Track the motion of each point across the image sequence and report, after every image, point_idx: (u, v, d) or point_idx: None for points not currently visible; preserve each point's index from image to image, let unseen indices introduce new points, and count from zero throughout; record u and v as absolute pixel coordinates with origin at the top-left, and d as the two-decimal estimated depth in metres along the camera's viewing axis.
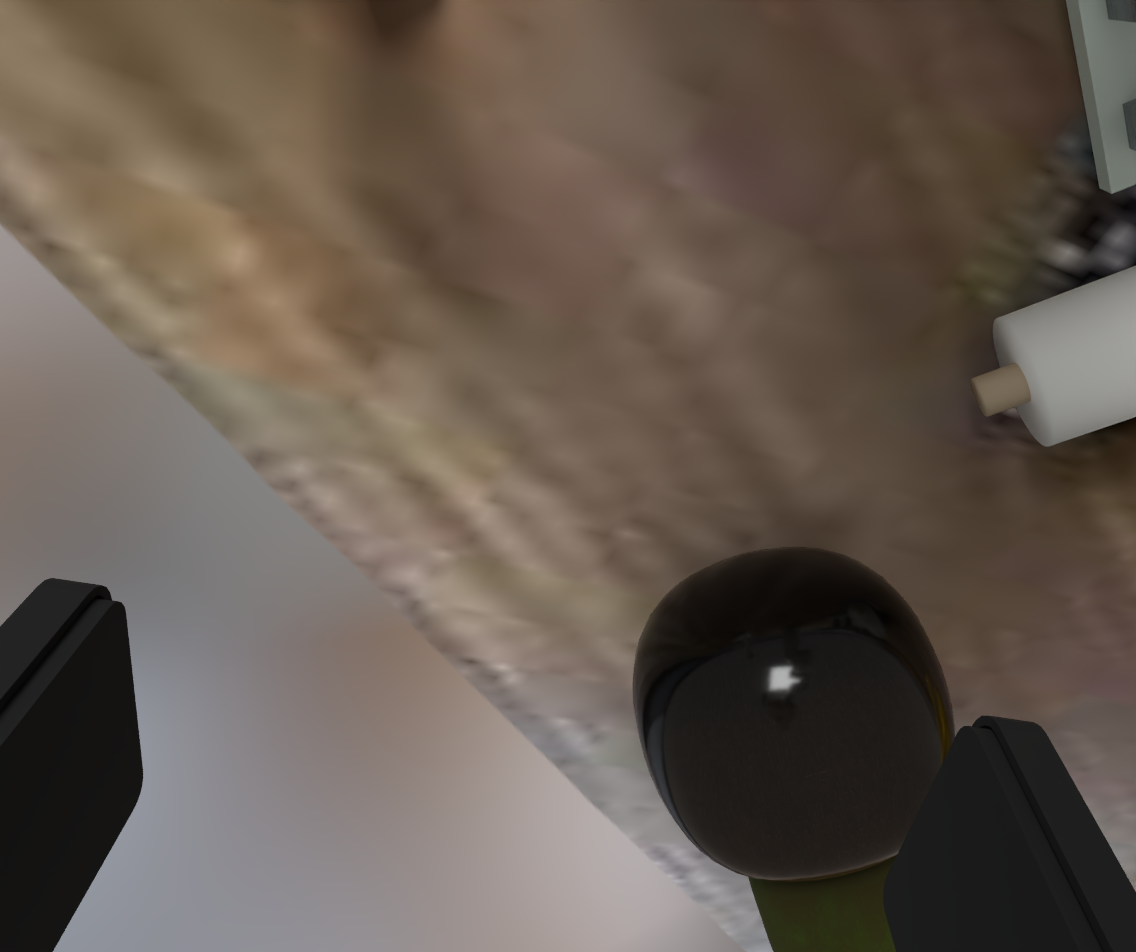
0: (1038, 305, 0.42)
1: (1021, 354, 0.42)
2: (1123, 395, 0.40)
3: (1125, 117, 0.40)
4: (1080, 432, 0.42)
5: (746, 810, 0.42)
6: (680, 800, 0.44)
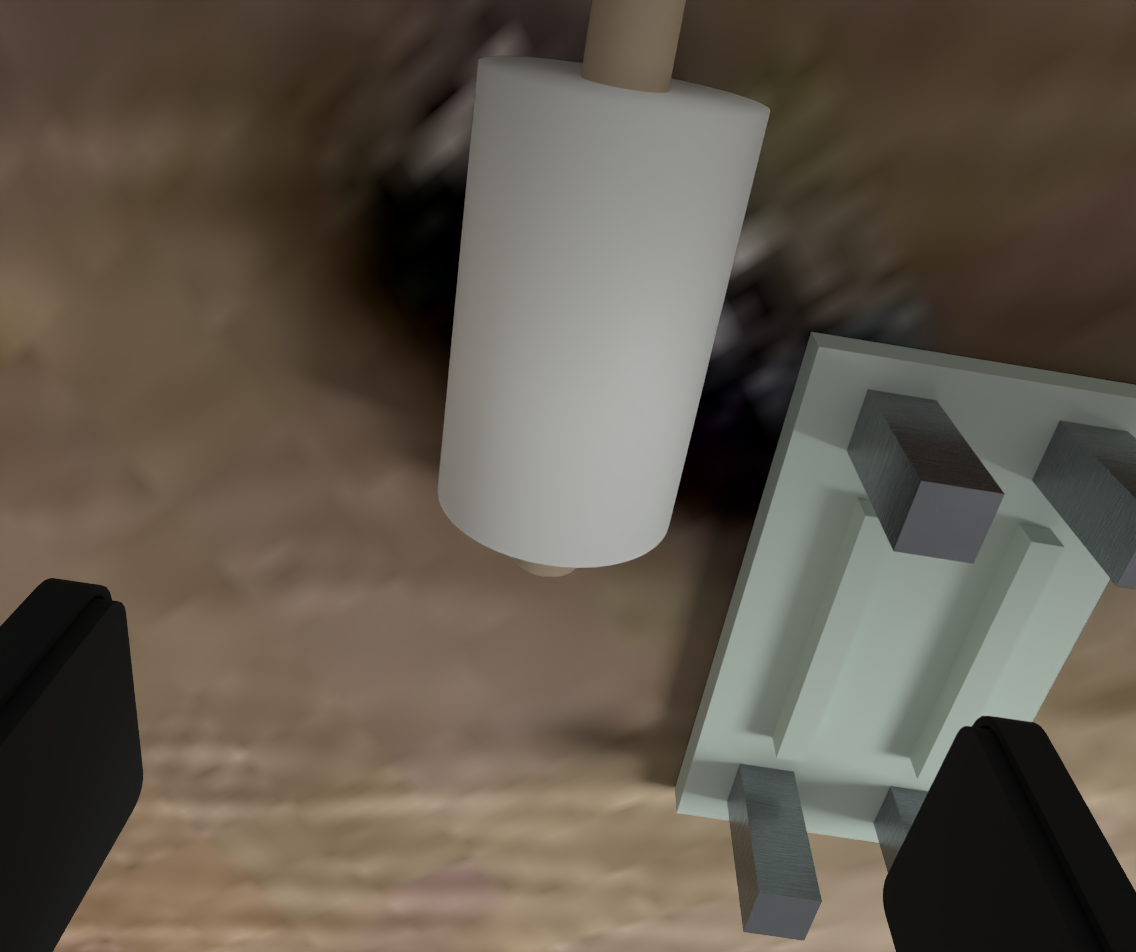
0: None
1: (716, 104, 0.20)
2: (574, 251, 0.19)
3: (917, 398, 0.26)
4: (512, 145, 0.19)
5: None
6: None
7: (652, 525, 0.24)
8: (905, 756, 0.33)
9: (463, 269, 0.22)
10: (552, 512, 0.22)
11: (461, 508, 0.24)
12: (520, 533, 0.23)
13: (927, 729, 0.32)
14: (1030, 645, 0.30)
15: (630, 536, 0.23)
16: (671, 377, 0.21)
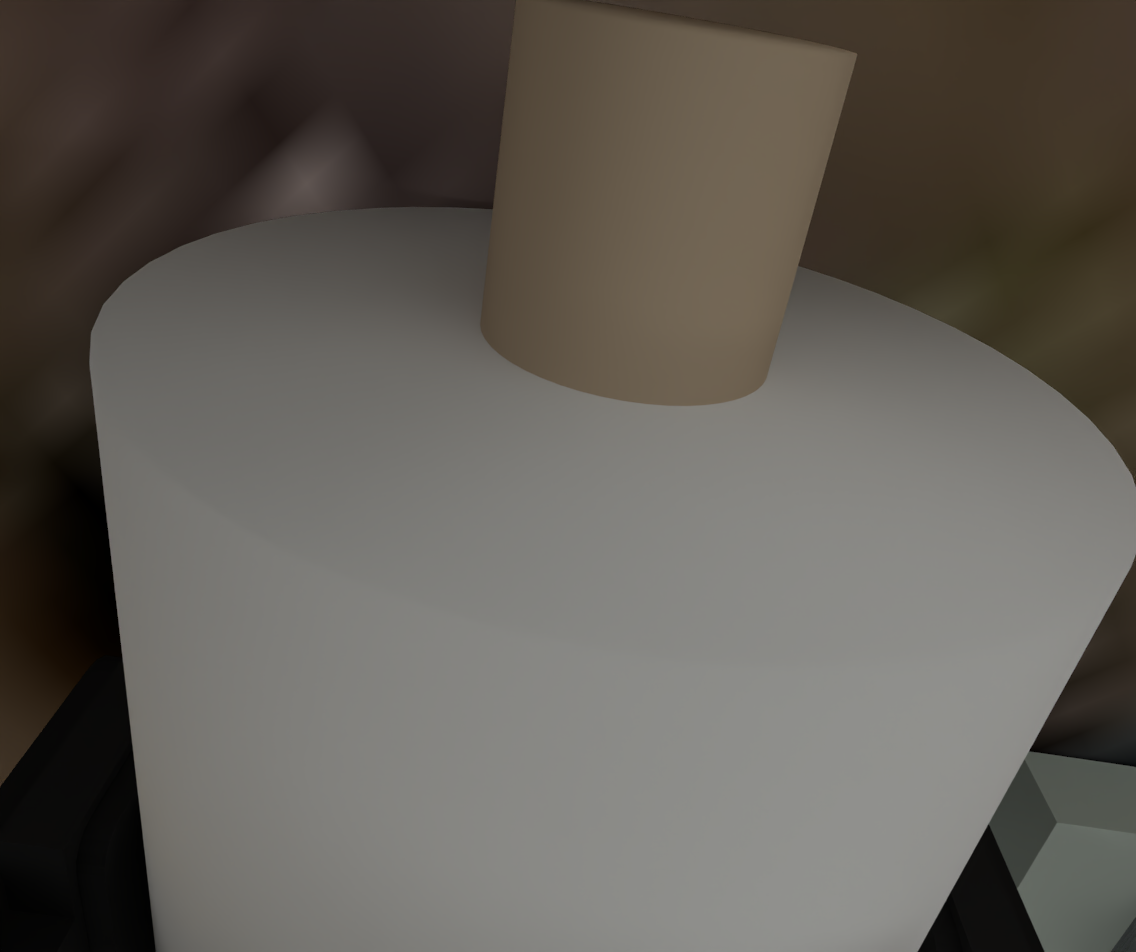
0: None
1: (957, 459, 0.05)
2: None
3: None
4: (175, 681, 0.05)
5: None
6: None
7: None
8: None
9: None
10: None
11: None
12: None
13: None
14: None
15: None
16: None
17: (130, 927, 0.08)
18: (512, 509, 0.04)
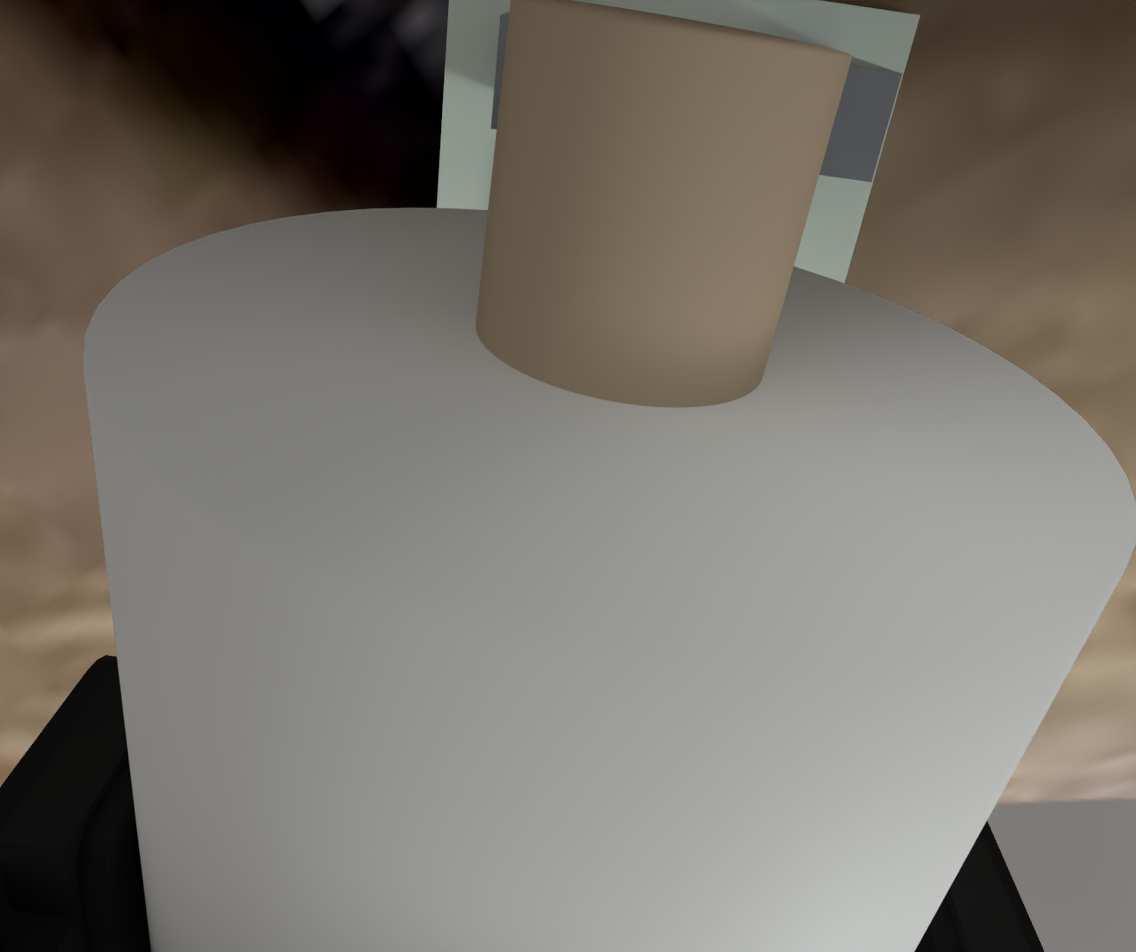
0: None
1: (952, 461, 0.05)
2: None
3: None
4: (169, 684, 0.05)
5: None
6: None
7: None
8: None
9: None
10: None
11: None
12: None
13: None
14: None
15: None
16: None
17: (130, 927, 0.08)
18: (506, 512, 0.04)
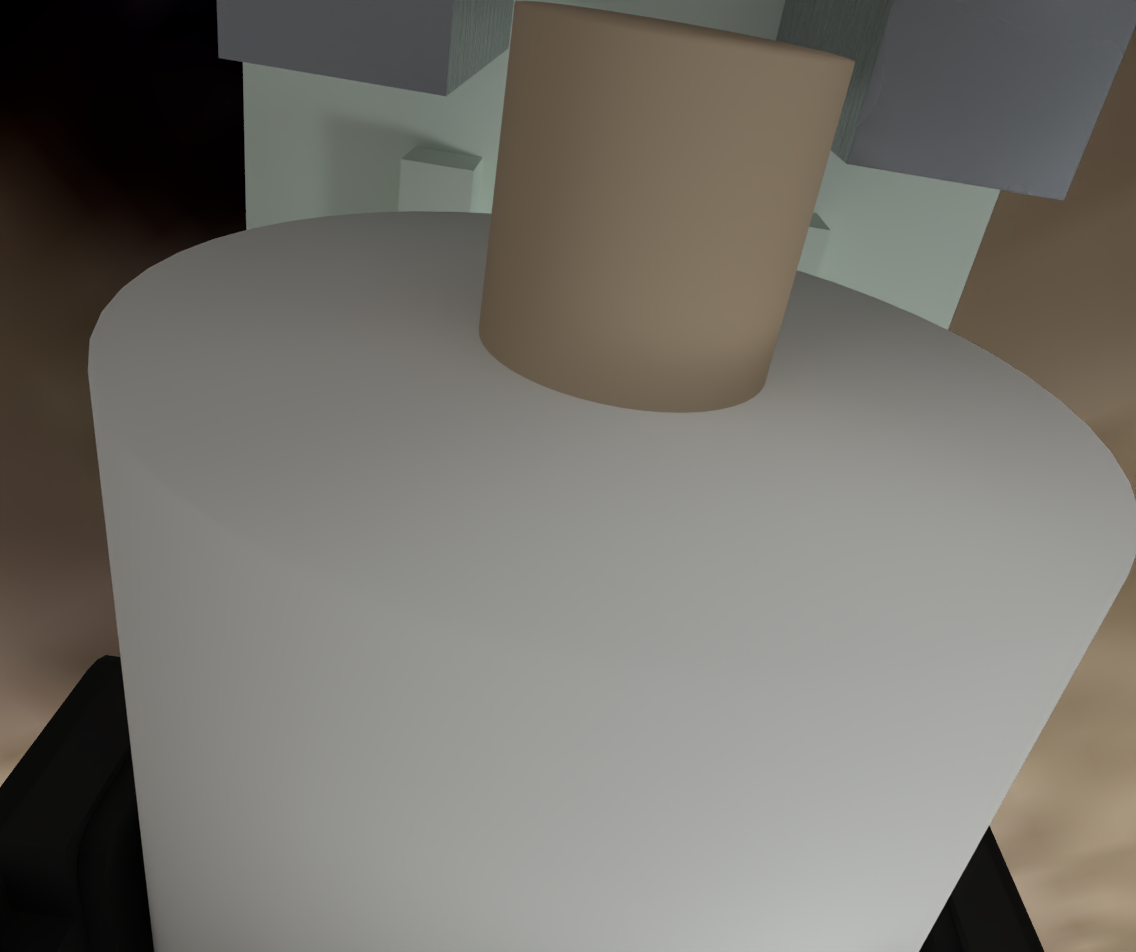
0: None
1: (955, 466, 0.05)
2: None
3: None
4: (173, 690, 0.05)
5: None
6: None
7: None
8: None
9: None
10: None
11: None
12: None
13: None
14: None
15: None
16: None
17: (131, 927, 0.08)
18: (510, 519, 0.04)
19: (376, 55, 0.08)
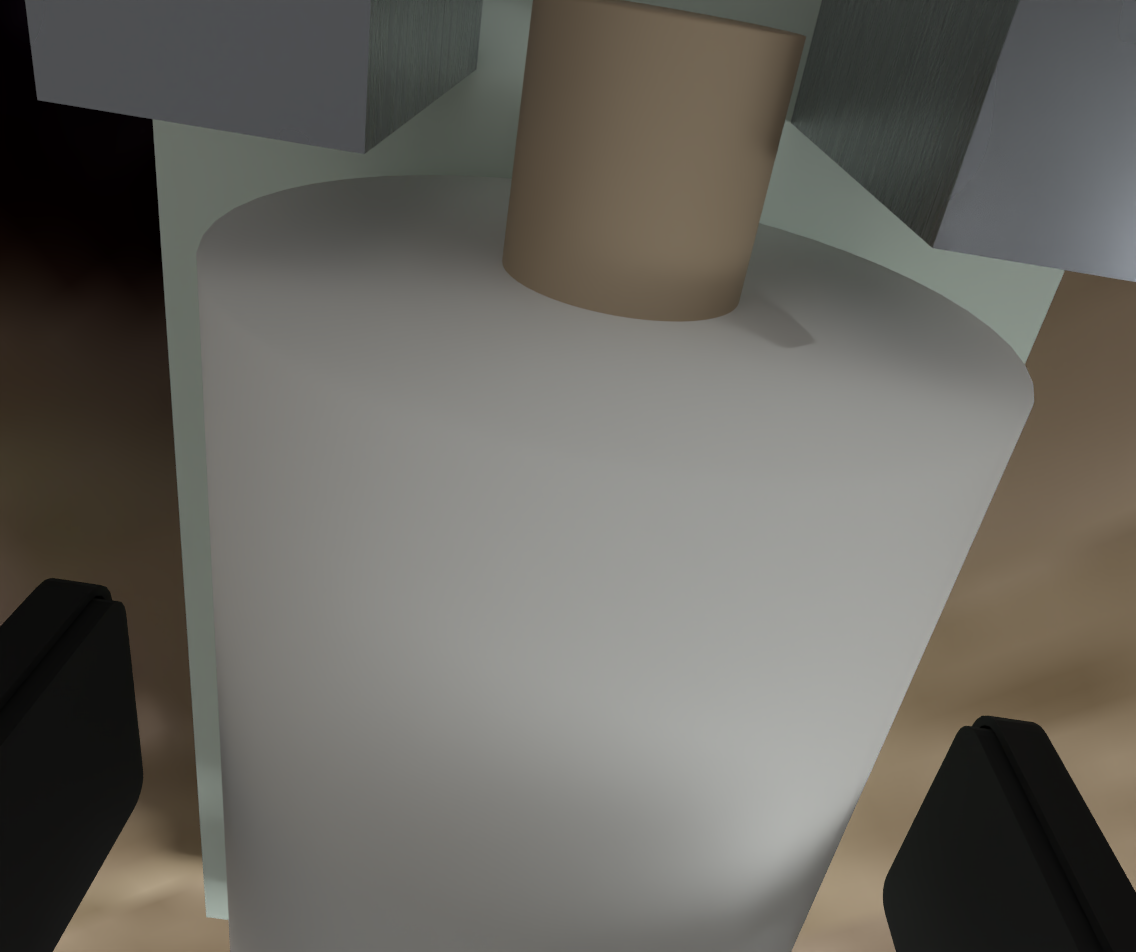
0: None
1: (885, 366, 0.07)
2: (454, 829, 0.06)
3: None
4: (261, 517, 0.06)
5: None
6: None
7: None
8: None
9: None
10: None
11: None
12: None
13: None
14: None
15: None
16: None
17: None
18: (522, 377, 0.06)
19: (262, 96, 0.06)
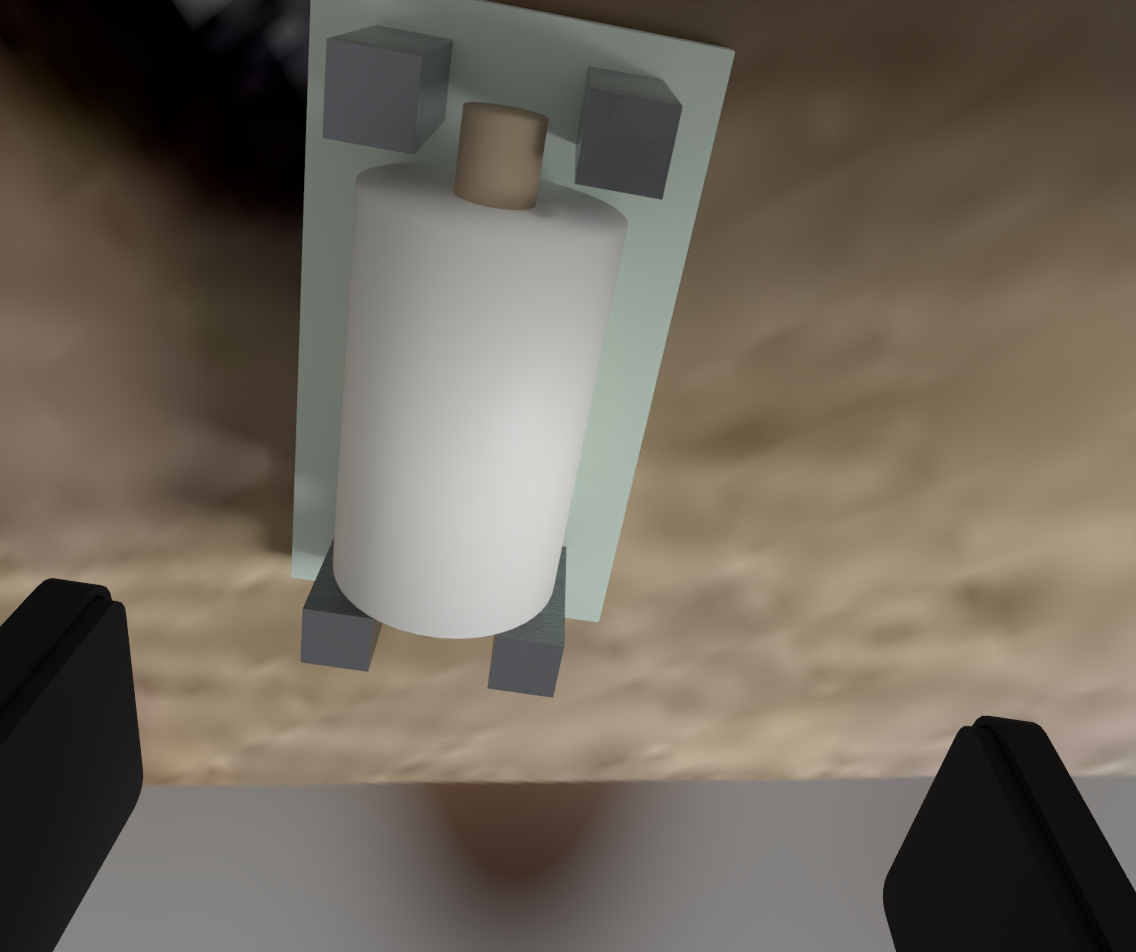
0: None
1: (574, 223, 0.21)
2: (437, 359, 0.21)
3: (430, 35, 0.24)
4: (380, 261, 0.21)
5: None
6: None
7: (529, 598, 0.25)
8: None
9: (346, 363, 0.23)
10: (429, 589, 0.24)
11: (349, 580, 0.25)
12: (401, 606, 0.24)
13: None
14: (617, 356, 0.28)
15: (506, 609, 0.25)
16: (537, 467, 0.23)
17: None
18: (457, 216, 0.20)
19: (386, 138, 0.20)
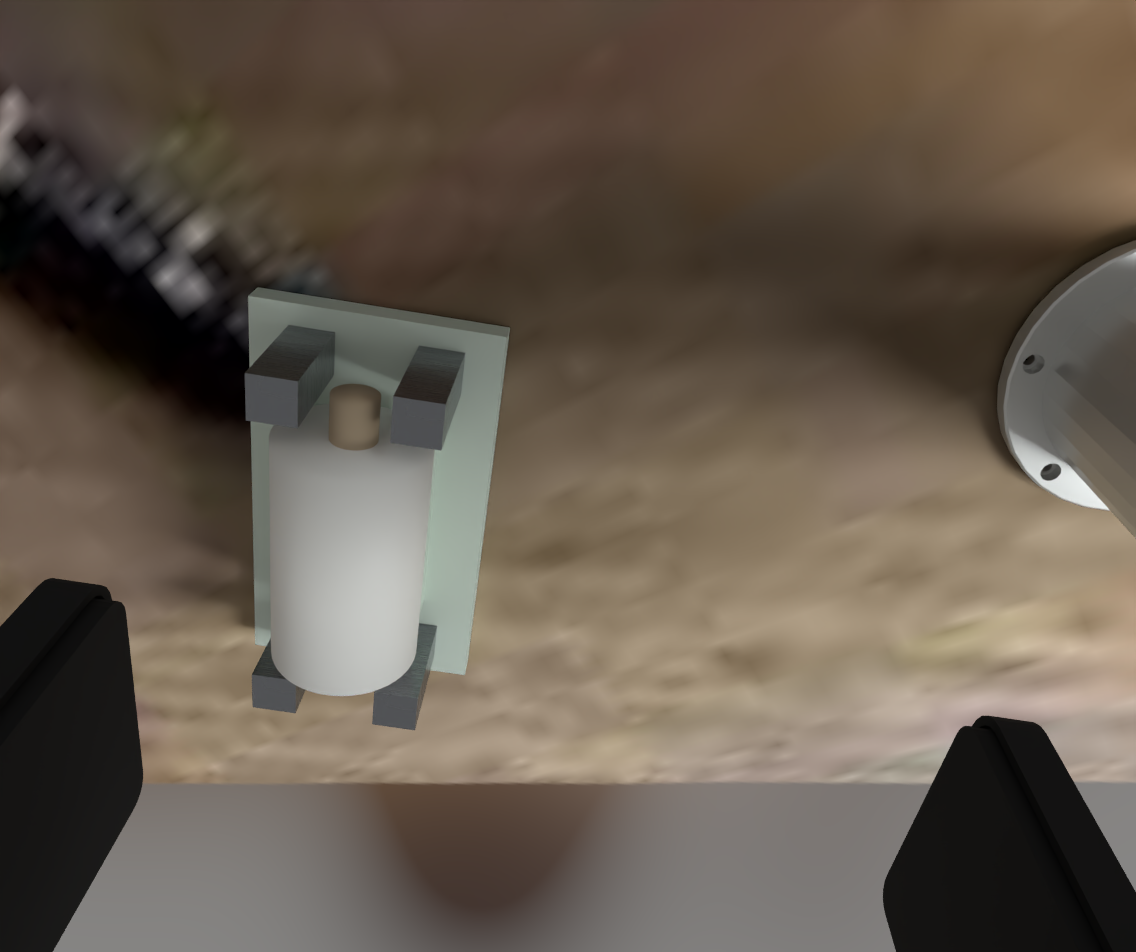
0: (431, 480, 0.39)
1: (395, 459, 0.36)
2: (314, 541, 0.36)
3: (321, 330, 0.39)
4: (280, 486, 0.36)
5: None
6: None
7: (389, 670, 0.41)
8: None
9: None
10: (322, 667, 0.39)
11: (277, 658, 0.40)
12: (306, 676, 0.40)
13: None
14: (456, 508, 0.43)
15: (373, 677, 0.40)
16: (382, 596, 0.38)
17: None
18: (322, 464, 0.35)
19: (281, 420, 0.35)
